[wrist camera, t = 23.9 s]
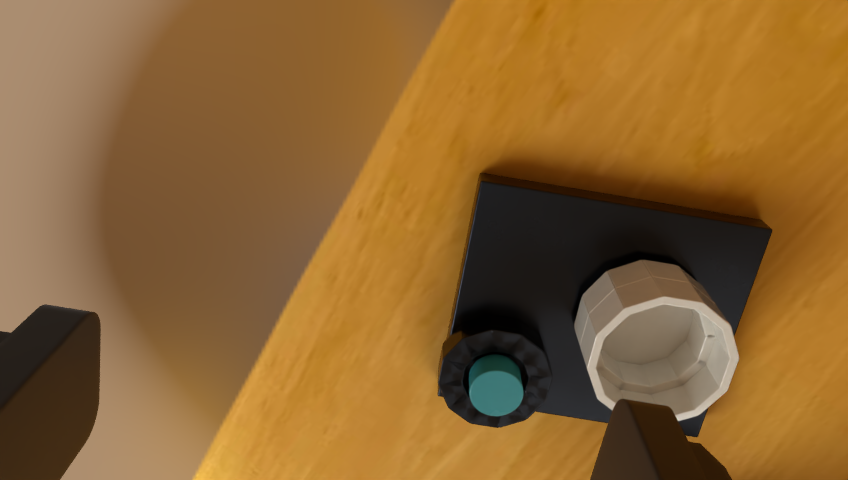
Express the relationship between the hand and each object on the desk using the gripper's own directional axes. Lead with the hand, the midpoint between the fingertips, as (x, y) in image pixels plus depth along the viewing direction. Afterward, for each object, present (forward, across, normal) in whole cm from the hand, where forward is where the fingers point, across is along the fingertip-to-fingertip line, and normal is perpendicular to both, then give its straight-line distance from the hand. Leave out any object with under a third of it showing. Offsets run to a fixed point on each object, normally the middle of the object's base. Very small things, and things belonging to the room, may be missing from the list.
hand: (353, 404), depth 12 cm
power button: (+22, -7, +13) cm, 27 cm away
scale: (+25, -11, +9) cm, 29 cm away
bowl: (+24, -13, +9) cm, 28 cm away
